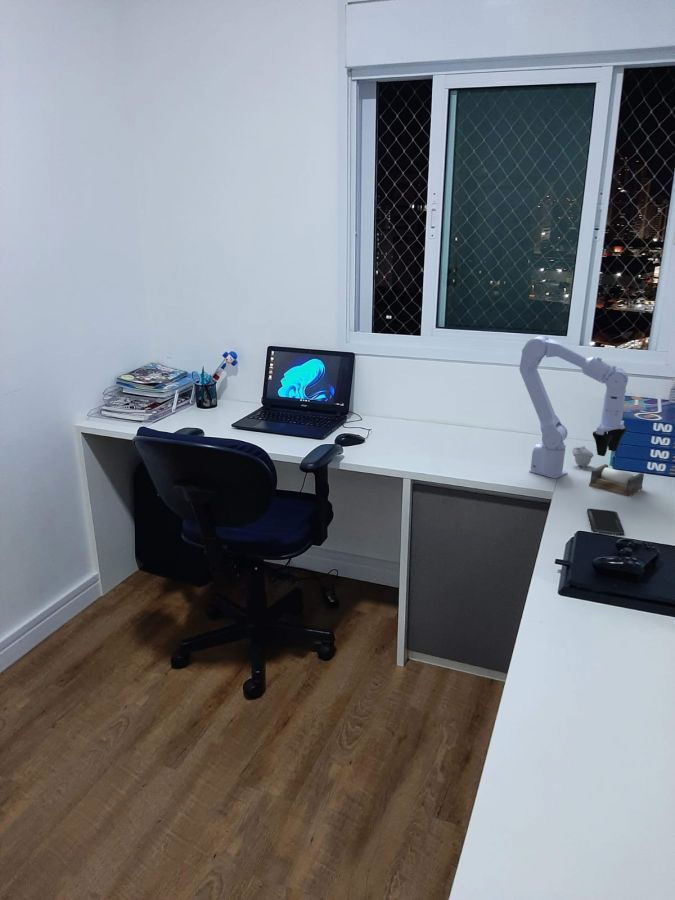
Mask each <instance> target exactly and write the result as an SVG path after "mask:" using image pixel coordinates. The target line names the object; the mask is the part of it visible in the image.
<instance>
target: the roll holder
mask: <svg viewBox="0 0 675 900" xmlns="http://www.w3.org/2000/svg"><path fill="white" fill-rule="evenodd" d="M606 467H607V468H609V464H602V465H600V466H598V467H596V468H594V469H592V470H591V474H590V480H589V481H590V482H589V483H588V485H589V487H592V488H597V489H600V490H603V489H604V491H607V492H612V493H615V494H618V493H619V494H618V495H622V494H623V495H622V496H625V495H626V497H629V496H630V497H632V496H633V495H635V494H637V493H638V491H639V490H640V491H642V490H643V481H644V476H645V475H644V474H645V473H642V472H640V473H638V474H635V475H634V477H632V478H630V479H628V483H627V485H623V484H619V483H615V482H612V481H608V480H604V479H601V474H602V471H603V470H604V468H606ZM641 489H642V490H641ZM640 491H639V492H640ZM636 492H637V493H636ZM634 493H635V494H634ZM631 495H632V496H631Z"/></svg>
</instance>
